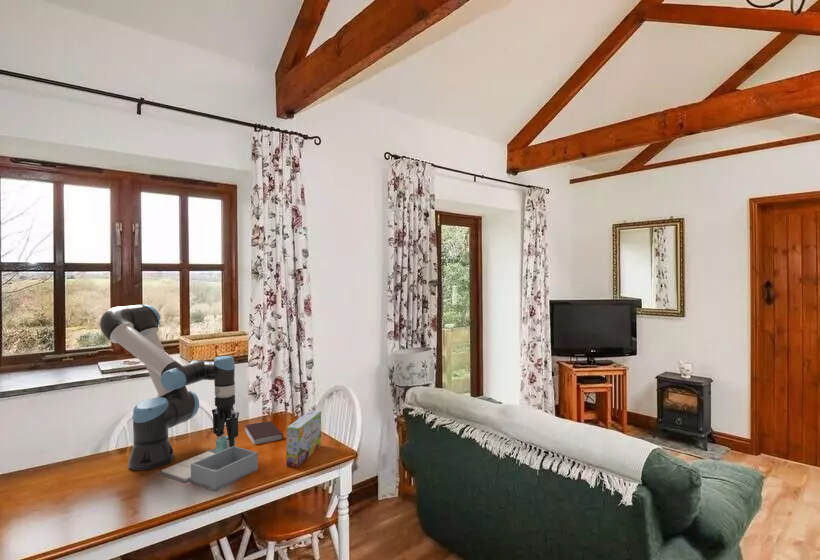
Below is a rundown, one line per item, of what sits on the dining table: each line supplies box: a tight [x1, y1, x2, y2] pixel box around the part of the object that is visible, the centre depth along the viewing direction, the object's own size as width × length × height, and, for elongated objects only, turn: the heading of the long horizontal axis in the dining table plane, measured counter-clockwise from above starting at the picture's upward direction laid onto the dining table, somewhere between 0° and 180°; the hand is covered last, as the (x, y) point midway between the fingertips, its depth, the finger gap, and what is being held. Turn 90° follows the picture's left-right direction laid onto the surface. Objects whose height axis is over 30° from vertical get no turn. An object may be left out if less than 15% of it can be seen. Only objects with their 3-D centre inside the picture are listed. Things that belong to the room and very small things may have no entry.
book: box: [244, 420, 284, 446], centre depth 197 cm, size 12×19×3 cm, turn 32°
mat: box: [156, 447, 216, 484], centre depth 167 cm, size 16×26×1 cm, turn 151°
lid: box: [161, 435, 236, 480], centre depth 168 cm, size 14×25×6 cm, turn 151°
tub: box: [190, 445, 259, 492], centre depth 157 cm, size 13×18×6 cm
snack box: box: [285, 410, 322, 468], centre depth 174 cm, size 21×6×15 cm, turn 168°
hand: (226, 452), depth 176 cm, fingers open, 5 cm apart
